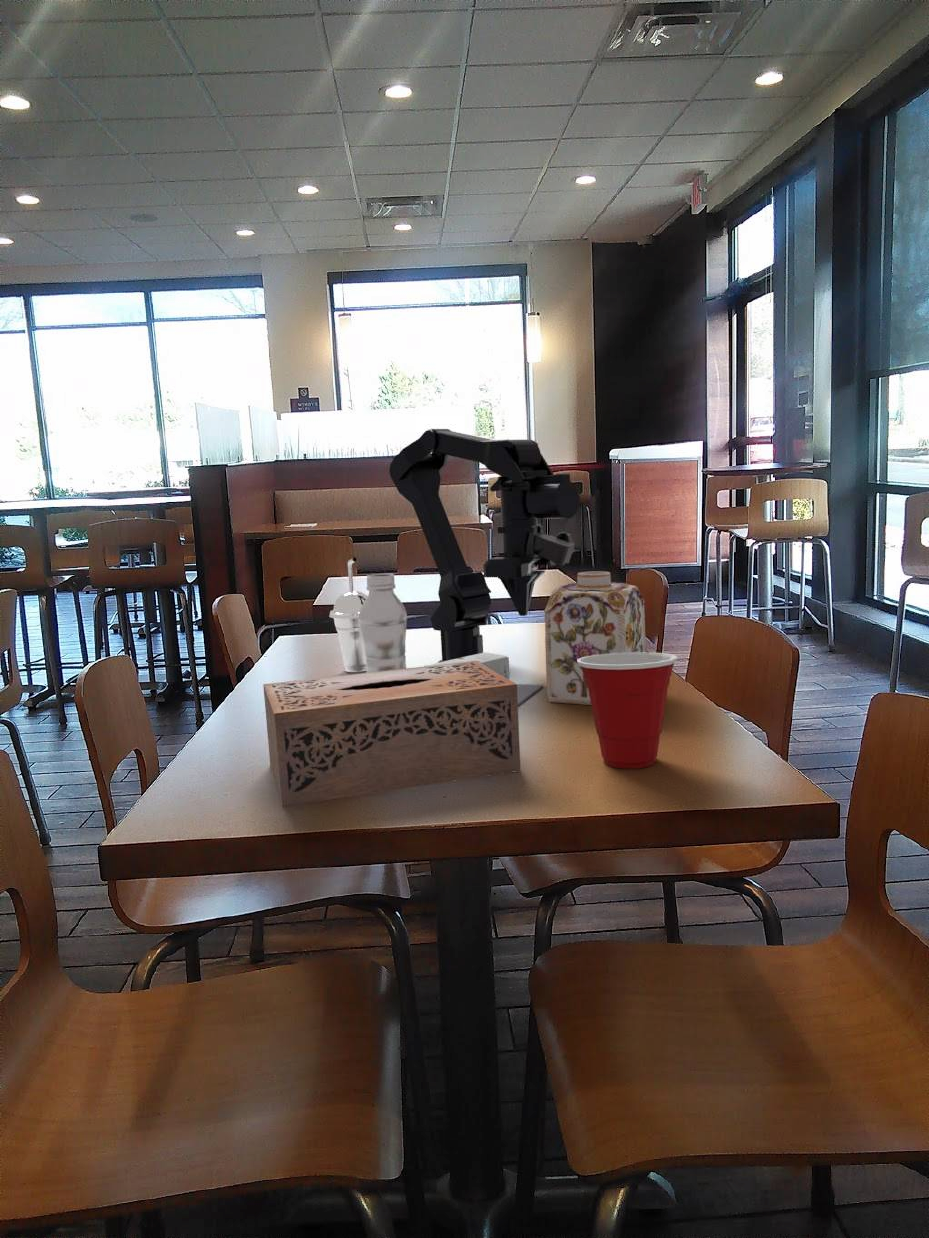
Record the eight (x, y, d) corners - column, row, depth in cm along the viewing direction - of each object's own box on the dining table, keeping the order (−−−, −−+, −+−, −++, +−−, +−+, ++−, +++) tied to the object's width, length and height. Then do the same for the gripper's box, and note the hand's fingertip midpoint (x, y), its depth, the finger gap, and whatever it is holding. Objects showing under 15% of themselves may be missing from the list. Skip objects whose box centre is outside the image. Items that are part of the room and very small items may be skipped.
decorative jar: (545, 703, 126) (540, 576, 123) (571, 684, 136) (567, 567, 133) (628, 708, 120) (624, 576, 118) (649, 688, 131) (646, 567, 128)
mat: (433, 706, 127) (433, 704, 127) (470, 683, 140) (470, 682, 140) (512, 710, 122) (512, 708, 122) (543, 687, 135) (543, 685, 135)
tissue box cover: (480, 739, 111) (476, 660, 109) (520, 773, 97) (516, 684, 96) (270, 767, 104) (263, 684, 102) (282, 809, 90) (274, 713, 88)
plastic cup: (661, 742, 104) (660, 642, 103) (692, 772, 94) (691, 660, 92) (570, 749, 104) (567, 648, 102) (591, 780, 93) (588, 668, 91)
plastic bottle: (421, 717, 121) (413, 571, 118) (402, 731, 115) (392, 578, 112) (378, 715, 123) (369, 572, 120) (357, 729, 117) (346, 578, 114)
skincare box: (509, 655, 137) (448, 667, 129) (510, 683, 138) (449, 697, 130) (483, 651, 142) (422, 663, 134) (484, 679, 142) (424, 692, 135)
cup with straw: (387, 664, 159) (380, 552, 155) (373, 675, 150) (365, 557, 147) (342, 664, 160) (333, 554, 157) (325, 675, 151) (316, 559, 148)
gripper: (549, 521, 130) (553, 625, 133) (583, 514, 147) (586, 607, 150) (479, 523, 135) (484, 624, 137) (520, 516, 152) (524, 606, 154)
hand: (523, 615), depth 144 cm, fingers closed
